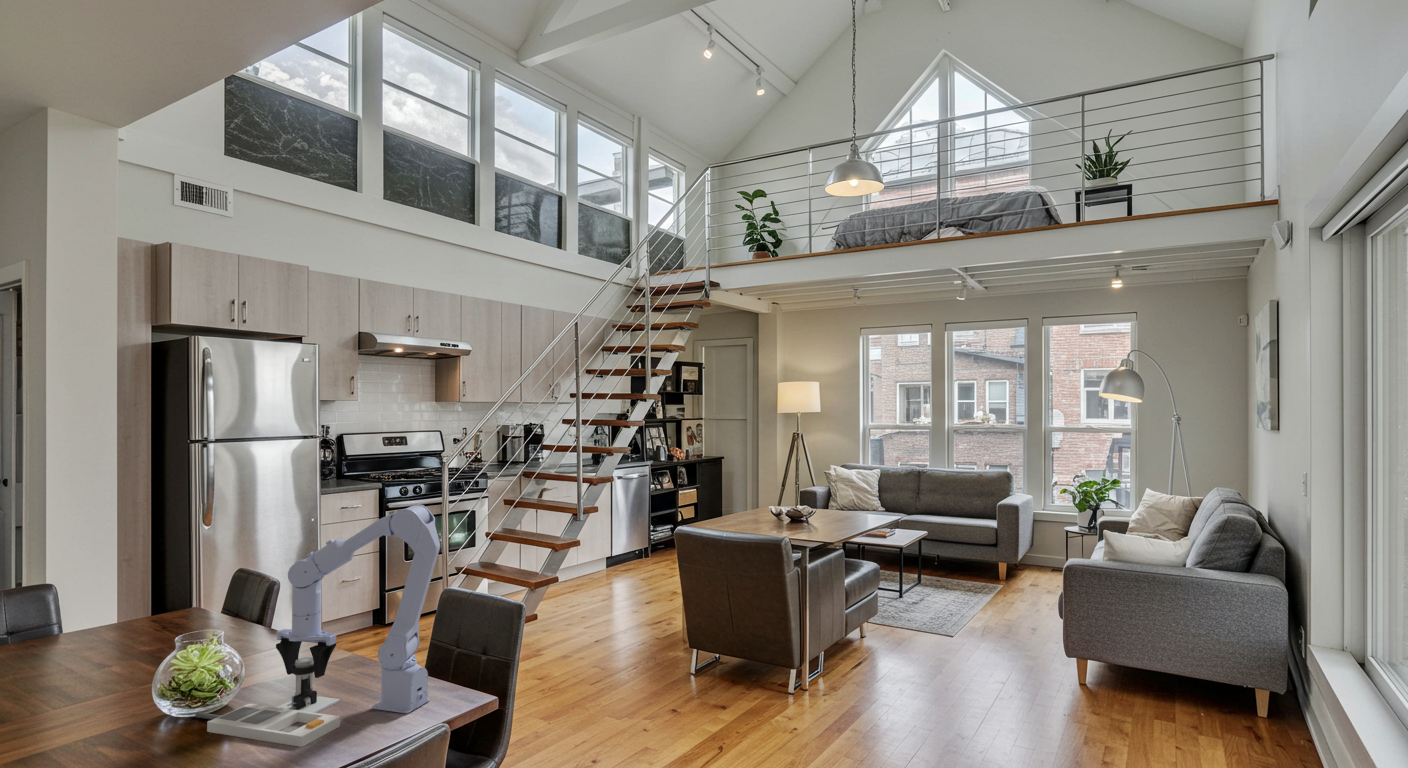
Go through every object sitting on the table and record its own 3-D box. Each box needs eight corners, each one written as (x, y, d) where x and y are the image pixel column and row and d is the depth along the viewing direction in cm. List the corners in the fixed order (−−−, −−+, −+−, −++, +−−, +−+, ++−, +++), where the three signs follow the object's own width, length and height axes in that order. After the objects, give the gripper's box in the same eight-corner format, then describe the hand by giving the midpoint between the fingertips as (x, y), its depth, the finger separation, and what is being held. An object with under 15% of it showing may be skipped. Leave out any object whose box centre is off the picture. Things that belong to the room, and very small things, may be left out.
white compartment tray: (340, 726, 156) (340, 713, 156) (301, 746, 146) (302, 733, 146) (217, 707, 165) (217, 696, 165) (173, 726, 155) (174, 713, 155)
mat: (340, 701, 169) (340, 699, 169) (305, 718, 159) (305, 716, 159) (304, 696, 172) (304, 694, 172) (267, 713, 162) (267, 711, 162)
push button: (296, 714, 161) (297, 667, 161) (278, 710, 163) (279, 663, 163) (322, 703, 167) (323, 657, 167) (305, 699, 169) (306, 654, 169)
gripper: (265, 615, 165) (264, 677, 164) (319, 620, 160) (318, 684, 160) (291, 607, 171) (290, 667, 171) (343, 611, 167) (342, 673, 167)
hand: (305, 674), depth 166 cm, fingers open, 7 cm apart
